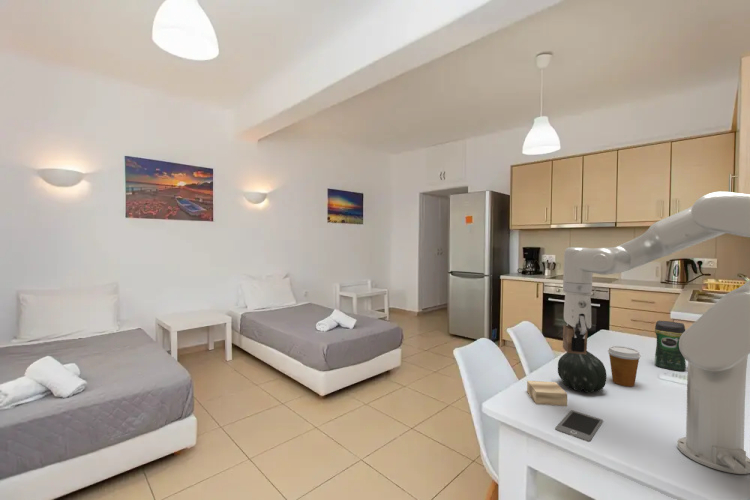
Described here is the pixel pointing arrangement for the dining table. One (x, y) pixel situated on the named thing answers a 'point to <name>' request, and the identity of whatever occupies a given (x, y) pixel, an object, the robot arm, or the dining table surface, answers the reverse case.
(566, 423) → the smartphone
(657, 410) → the dining table surface
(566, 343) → the walnut block
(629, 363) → the disposable coffee cup
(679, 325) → the coffee jar
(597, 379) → the squash
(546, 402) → the oak base block
